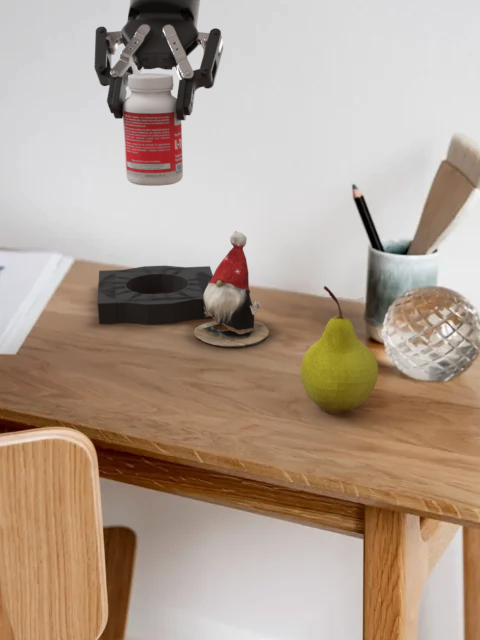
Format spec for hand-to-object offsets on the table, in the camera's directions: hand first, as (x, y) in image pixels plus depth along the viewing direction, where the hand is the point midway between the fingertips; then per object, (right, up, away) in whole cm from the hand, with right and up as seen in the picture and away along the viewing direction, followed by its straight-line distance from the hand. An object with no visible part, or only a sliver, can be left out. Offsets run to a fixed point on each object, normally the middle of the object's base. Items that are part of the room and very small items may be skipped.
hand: (148, 114), depth 88 cm
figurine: (+8, -23, +6) cm, 25 cm away
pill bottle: (0, -6, +5) cm, 8 cm away
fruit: (+19, -30, -10) cm, 37 cm away
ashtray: (-1, -19, +15) cm, 24 cm away
